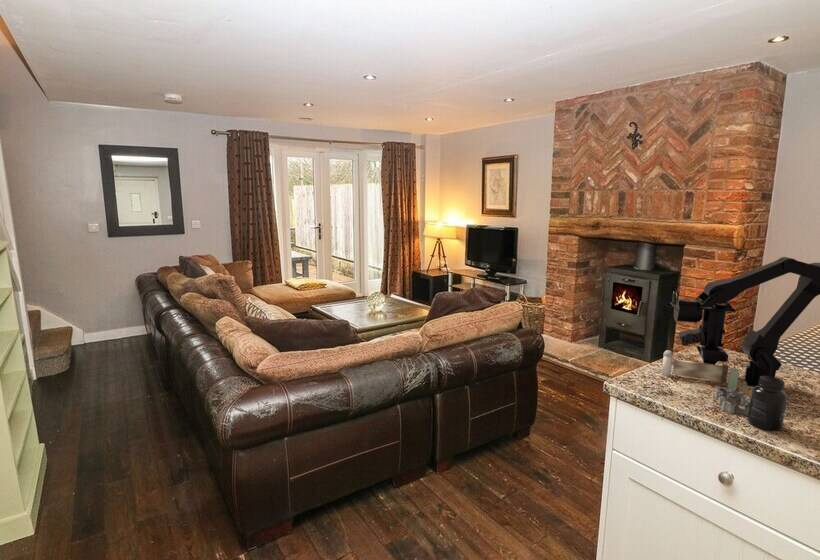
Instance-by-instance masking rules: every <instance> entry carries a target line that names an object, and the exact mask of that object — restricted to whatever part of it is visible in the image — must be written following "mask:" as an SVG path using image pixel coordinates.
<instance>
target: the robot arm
mask: <svg viewBox="0 0 820 560" xmlns="http://www.w3.org/2000/svg"><path fill="white" fill-rule="evenodd" d="M786 274H794V275H797V276H799V277H798V281H797V285H796V288H795V289H794V291H793V292H792V293H791V294H790V295H789V296H788V297H787V299H786V300H785V301H784V302H783V303H782V304H781V306H780V307H779V308H778V309H777V310H776V312H775V313H774V315H773V316H772V317H771V318H770V319H769V320H768V321H767V323H765V325H764V326H763V327H762V328H760V329H759V330H757V331H755V330H754V329H752V328H751V329H750V330H749V331H748V333H747V335H746V336H745V337H743V338H742V339H741V340H742V341H743V342H742V343H741V349H742V351H743V353H745V354H746V356H747V359H748V360H749V361H748V365H746V366H745V371H744V376H743V377H744V381H745V383H746V385H747V386H751V387H756V386H759V384H758V382H759V378H760V376H772V377H776V373H777V371H779V370H780V368H781V367H782V365H783V364H782V363H781V362H780V360H778V359H777V357H775V356H774V355H775V353H776V352H777V350H778V347H779V344H780V343H779V342H780V339H781V337H782V336H783V335H784V334H785V333H786V332H787V330H788V329H789V328H790V327H791V326H792V325H793V323H794V322H795V320H797V319H798V318H799V316H800V315H801V314H802V313H803V312H804V311H805V309H806V308H807V307H808V306H809V305H810V304H811V303H812V301H813V300H814V299H815V298H816V297H817V296H820V262H812V263H806V262H804V261H800V260H797V259H795V258H791V257H788V256H782V257H779V258H778V259H776V260H774V261H772V262H769V263H767V264H765V265H762V266H759V267H757V268H755V269H752V270H749V271H748V272H744V273H742V274H739V275H738V276H733V277H730V278H723V279H717V280H713V281H710V282H708V283H706V284H705V286H704V288H703V291H702V292H701V293H700V294H699V295H698V296H697V297H696V298H695V299H694V300H688V299H687V300H686V299H684V298H683V299H682V298H680V299H679V298H677V300H676V301H677V302H676V303H675V307H674V308H673V319H674V322H678V323H679V322H680V323H693V324H696V323H698V322H701V323H700V324H699V325H698V328H694V329H693V328H692V329H688V330H682V331H679V332H678V337H679V340H680V343H681V346H682V347H686V346H689V345H695V344H698V343H699V346H696V350H697V351H698V354H699V355H700V356H701V359H702V363H707V364H714V365H717V363H718V362H722V363H728V362H729V354H728V353H727V351H726V350H725V349H724V342H723V338H724V335H725V334H726V329H725V325H726V318H727V312H729V313H730V312H731V313H734V312H736V309H735V308H734V307H733V306H732V304H731V303H729V302H730V301H732V300H733V299H735V298H737V297H738V296H740V295H741V294H742V293H743V292H744V291H746V290H748V289H751V288H753V287H757V286H759V285H761V284H764V283H767V282H769V281H771V280H774V279H776V278H779V277H782V276H785V275H786Z"/></svg>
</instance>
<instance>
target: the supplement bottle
mask: <svg viewBox="0 0 820 560" xmlns="http://www.w3.org/2000/svg"><path fill="white" fill-rule="evenodd" d="M785 383H786V382H785V380H783V379H782V378H779V377H776V376H775V377H772V376H760V378H759V382H758V384H759V386H756V387H755V386H753V388H752V391H751V396H750V399H751V401H750V407H749V414H748V416H747V422H748V424H750V425H751V426H753V427H755V428H757V429H760V430H763V431H767V432H768V431H769V432H779V431H781V430H782V429H783V425H784V419H785V416H786V415H785V414H786V409H787V404H788V395H787V393H786V392H785V391H783V390H785Z"/></svg>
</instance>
